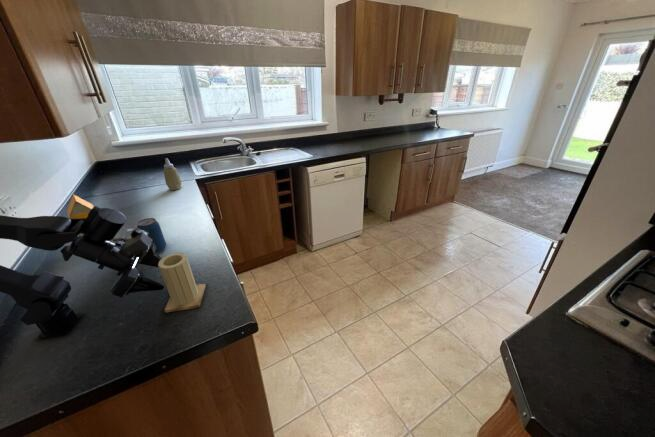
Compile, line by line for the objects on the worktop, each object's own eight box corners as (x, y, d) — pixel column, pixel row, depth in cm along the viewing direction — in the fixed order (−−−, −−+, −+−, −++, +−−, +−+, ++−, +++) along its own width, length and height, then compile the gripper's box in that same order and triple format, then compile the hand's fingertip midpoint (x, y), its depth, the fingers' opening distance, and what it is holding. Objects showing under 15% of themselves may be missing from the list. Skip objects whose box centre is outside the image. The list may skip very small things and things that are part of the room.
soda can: (163, 242, 106) (154, 215, 101) (169, 249, 102) (160, 221, 96) (144, 249, 102) (132, 222, 96) (149, 257, 98) (138, 228, 92)
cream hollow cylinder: (167, 303, 76) (152, 266, 70) (183, 287, 82) (170, 251, 76) (188, 306, 75) (174, 269, 69) (202, 289, 81) (191, 254, 74)
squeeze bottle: (182, 189, 156) (173, 159, 148) (167, 192, 154) (157, 161, 145) (183, 185, 163) (175, 155, 154) (168, 187, 160) (159, 157, 152)
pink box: (146, 257, 97) (137, 234, 93) (141, 263, 94) (131, 239, 90) (124, 258, 97) (113, 234, 92) (118, 264, 94) (106, 240, 90)
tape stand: (165, 312, 74) (159, 299, 72) (175, 290, 82) (170, 277, 80) (199, 307, 76) (195, 294, 73) (206, 285, 83) (202, 273, 81)
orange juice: (107, 235, 112) (86, 190, 102) (111, 243, 106) (89, 197, 97) (84, 243, 107) (59, 196, 98) (86, 251, 101) (60, 203, 92)
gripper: (107, 248, 57) (179, 277, 65) (132, 211, 72) (187, 238, 81) (79, 285, 58) (152, 309, 66) (109, 241, 74) (166, 265, 82)
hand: (166, 277), depth 74 cm, fingers open, 9 cm apart
